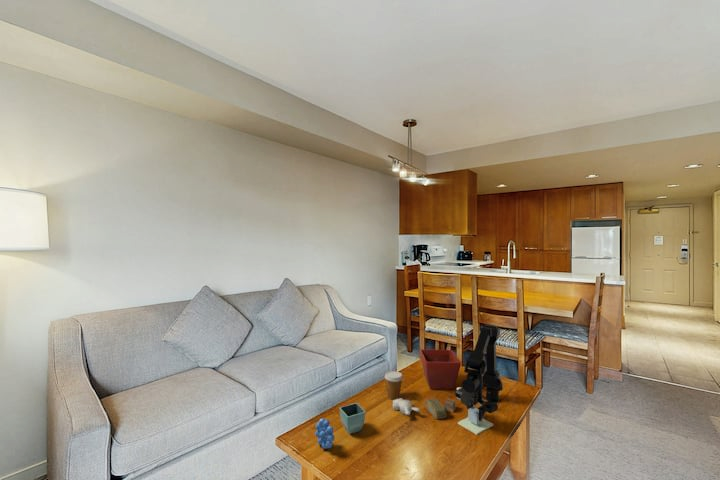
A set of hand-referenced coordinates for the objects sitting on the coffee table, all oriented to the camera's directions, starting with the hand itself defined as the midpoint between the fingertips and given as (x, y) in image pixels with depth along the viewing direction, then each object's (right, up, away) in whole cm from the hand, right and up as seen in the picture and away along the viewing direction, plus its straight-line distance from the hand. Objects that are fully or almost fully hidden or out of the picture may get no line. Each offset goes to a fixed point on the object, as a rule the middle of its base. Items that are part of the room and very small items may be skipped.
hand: (475, 418), depth 147 cm
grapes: (-65, -3, -16) cm, 67 cm away
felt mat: (0, -3, 0) cm, 3 cm away
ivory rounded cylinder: (+1, -3, +24) cm, 24 cm away
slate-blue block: (0, -1, 0) cm, 1 cm away
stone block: (-16, -3, +9) cm, 18 cm away
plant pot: (-7, -3, +39) cm, 40 cm away
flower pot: (-55, -3, -5) cm, 56 cm away
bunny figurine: (-30, -3, +11) cm, 32 cm away
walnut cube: (-8, -3, +13) cm, 15 cm away
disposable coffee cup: (-34, -2, +25) cm, 42 cm away
